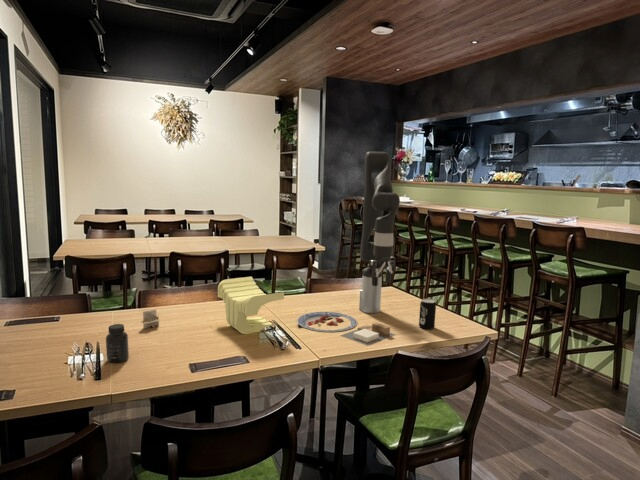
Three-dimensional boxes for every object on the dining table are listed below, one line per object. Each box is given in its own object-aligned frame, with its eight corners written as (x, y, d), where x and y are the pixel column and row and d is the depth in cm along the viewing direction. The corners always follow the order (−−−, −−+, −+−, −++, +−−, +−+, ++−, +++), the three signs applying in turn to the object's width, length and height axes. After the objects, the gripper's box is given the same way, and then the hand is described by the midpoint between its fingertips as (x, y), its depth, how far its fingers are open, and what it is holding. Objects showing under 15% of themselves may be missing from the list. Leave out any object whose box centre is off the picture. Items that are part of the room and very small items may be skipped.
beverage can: (434, 330, 192) (436, 303, 190) (418, 329, 193) (420, 302, 191) (434, 325, 198) (435, 299, 196) (418, 324, 200) (420, 297, 198)
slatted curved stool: (217, 320, 197) (217, 280, 195) (251, 314, 206) (251, 276, 203) (246, 342, 173) (246, 297, 170) (283, 335, 181) (284, 292, 179)
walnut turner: (392, 334, 182) (392, 325, 181) (383, 337, 177) (383, 329, 177) (366, 326, 191) (367, 318, 190) (357, 329, 186) (358, 321, 186)
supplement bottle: (111, 355, 157) (109, 322, 155) (131, 355, 157) (130, 322, 156) (103, 364, 150) (102, 329, 148) (124, 364, 151) (123, 329, 149)
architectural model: (160, 328, 186) (160, 310, 185) (143, 332, 182) (143, 314, 181) (157, 326, 189) (156, 309, 188) (140, 329, 184) (139, 312, 183)
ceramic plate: (319, 312, 213) (319, 306, 212) (367, 324, 198) (368, 317, 198) (284, 326, 192) (284, 320, 191) (335, 341, 177) (335, 334, 177)
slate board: (339, 339, 179) (340, 335, 179) (368, 329, 191) (368, 325, 191) (367, 349, 169) (367, 345, 169) (395, 338, 182) (396, 334, 181)
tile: (353, 332, 176) (367, 337, 171) (364, 328, 181) (378, 333, 176) (353, 337, 176) (367, 342, 172) (364, 333, 181) (378, 338, 177)
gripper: (380, 247, 169) (377, 289, 172) (402, 243, 179) (399, 283, 182) (364, 244, 175) (362, 285, 177) (386, 241, 185) (384, 279, 187)
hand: (381, 284), depth 180 cm, fingers open, 8 cm apart
